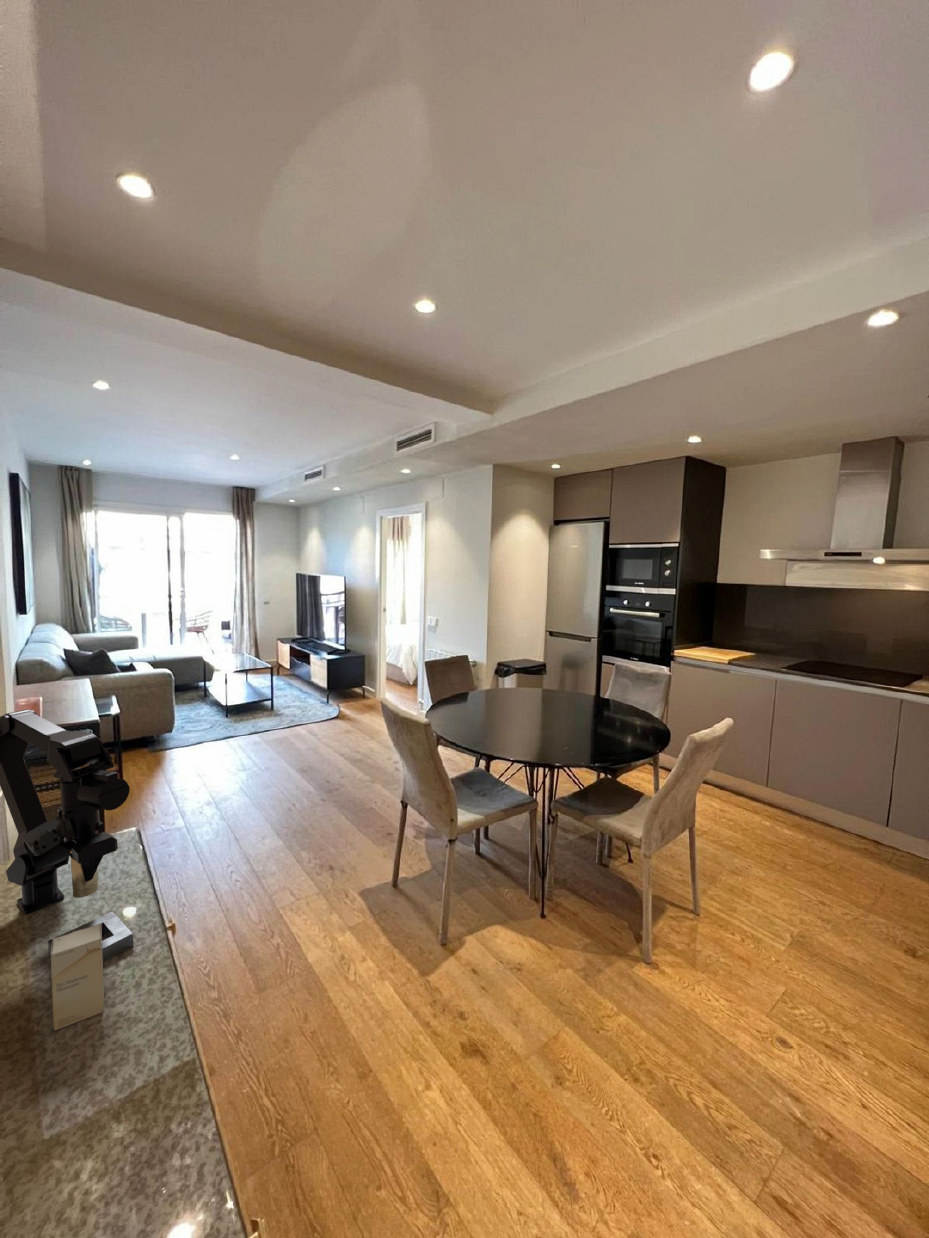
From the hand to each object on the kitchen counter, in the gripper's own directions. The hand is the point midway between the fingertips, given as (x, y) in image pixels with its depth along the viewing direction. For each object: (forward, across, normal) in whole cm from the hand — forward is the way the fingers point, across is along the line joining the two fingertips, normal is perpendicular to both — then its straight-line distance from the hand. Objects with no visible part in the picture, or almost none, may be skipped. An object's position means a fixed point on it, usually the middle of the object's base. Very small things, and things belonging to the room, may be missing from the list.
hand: (84, 876), depth 98 cm
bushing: (+3, 0, 0) cm, 3 cm away
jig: (+9, +11, -2) cm, 14 cm away
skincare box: (+9, +25, -8) cm, 28 cm away
